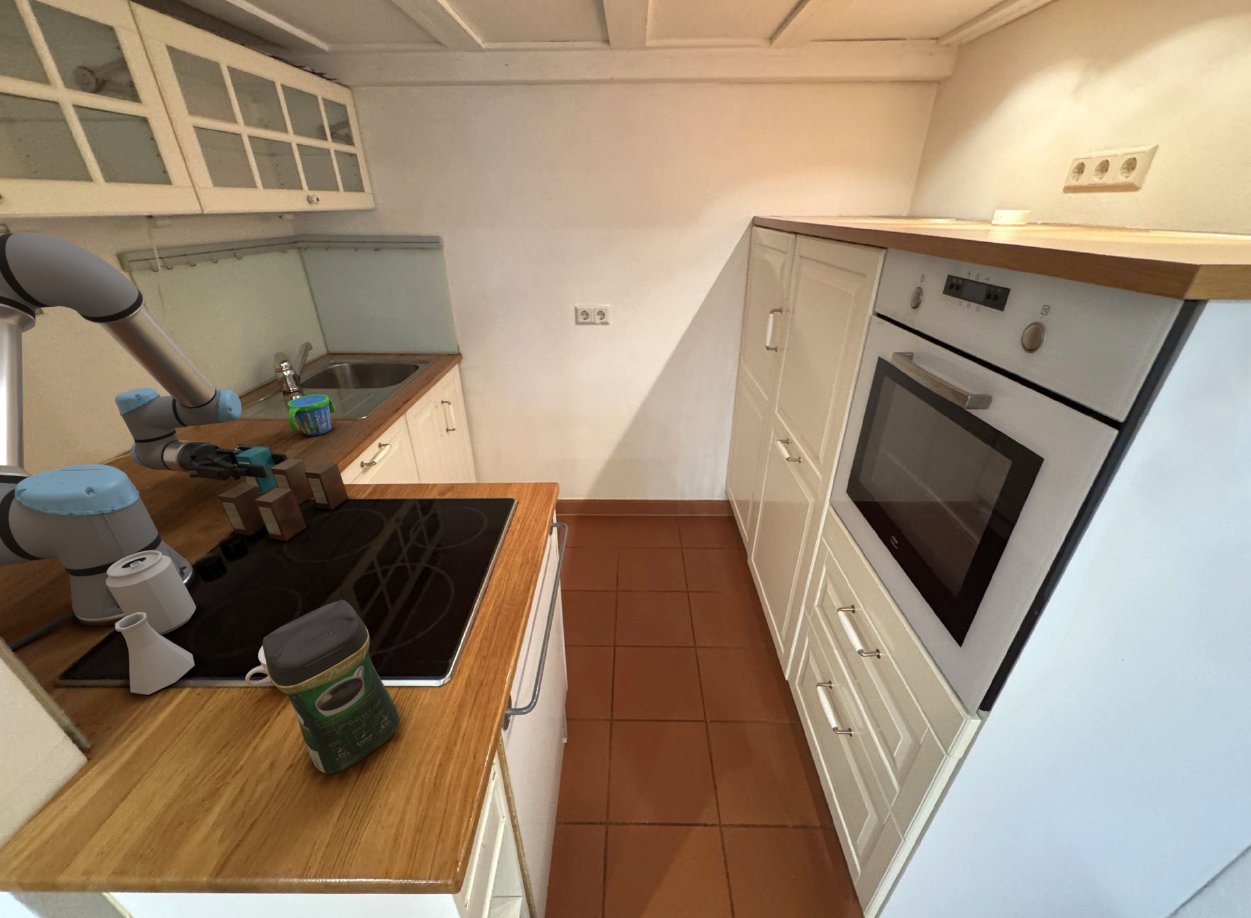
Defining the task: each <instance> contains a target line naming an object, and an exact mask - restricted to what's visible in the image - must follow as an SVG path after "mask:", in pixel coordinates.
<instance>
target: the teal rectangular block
mask: <svg viewBox="0 0 1251 918" xmlns="http://www.w3.org/2000/svg"><path fill="white" fill-rule="evenodd" d="M235 457H236V460H237V462H238V464H239V463H242V464H252V465H261V466H263V467H264V470H265V472H266V475H267V477H266V478H258V477H249V476H243V479H244V482H245V484H248V485H256V486H257V488H258V491H259V493H260V494H261V493H262V494H265V493H267V492H268V491H270V490H272V489H274V487H275V488H276V486H277V484H276V481H275V479H274V476H273V473H272V471H271V468H272V467H274V466H276V465H275V463H274V461H273V458H272V455H271V453H270V450H269V448H264V447H253V448H251V449H249V450H246V451H244V452H242V453H240V454H238V455H236V456H235Z"/></svg>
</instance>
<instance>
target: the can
mask: <svg viewBox="0 0 1251 918" xmlns="http://www.w3.org/2000/svg"><path fill="white" fill-rule="evenodd" d="M107 575H109V576H108V578H107V580H106V585H107V587H108V588H109V590H110V592H111V593H112V595H113V596H114V598H115V600H116V601H117V603H118V604H119V606H120V608H121V609H122V611H123V613H124V614H125V616H128V615H131V614H134V613H136V612H142V613H146V615H147V622H148V624H149V625H150V626H151V627H152V628H153V629H154V630H155V631H156V632H157V633H158V634H159V635H161V636H163V635H166V634H168V633H171V632H174V631H175V630H177V629H179V628H180V627H182V626H184V625H185V624H186V623H187V622H189V620H190V619H191V618H192V616H193V614H194V613H195V611H196V609H197V606H196V604H195V601H194V599H193V598H192V596H191V594H190V592H189V590H188V589H187V588H186V587H185V585H184V583H183V581H182V579H181V577H180V575H179V573H178V572H177V570H176V568H175V566H174V564H173V562H172V560H171V558H170V557H168V556H165V555H162V553H161V552H159V551H155V550H149V551H143V552H139V553H135V554H132V555H129V556H127V557H125V558H123V559H121V560H119V561H117V562H115V563H114V564H113V565H112V566H110V567H109V569H108V570H107Z"/></svg>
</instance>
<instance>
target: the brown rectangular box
mask: <svg viewBox="0 0 1251 918" xmlns="http://www.w3.org/2000/svg"><path fill="white" fill-rule="evenodd" d="M307 470H308V468H307V465H306V461H305V460H304V459H301V458H287V460H286V461H284V462H282V463H280V464H278V465H275V466H274V467H272V468H271V471H272V473H273V476H274V479H275V481H276V484H277V485H276V486H277V488H283V489H291V490H293V493H294V496H295V498H296V501H297V504H298V506H300V505H301V504H303V503H304V502H306V501H308V500H310V499H311V498H313V495H312V492H311V489H310V487H309V484H308V481H307V478H306V475H305V473H304V472H305V471H307Z"/></svg>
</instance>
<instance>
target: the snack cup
mask: <svg viewBox="0 0 1251 918" xmlns="http://www.w3.org/2000/svg"><path fill="white" fill-rule="evenodd" d="M287 408H288V409H289V410H288V417H287V418H288V426H289V428H290V430H292V431H294V432H298V431H300V430H301V431H302V433H303V434H304V435H306V436H307V437H311V436H320V435H325V434H327V433H328V432H330V431H331V430H332V428H333V427H332V419H331V418H332V417H331V414H335V412H336V407H335V404H334V403H333V401H332V399H331V398H330V396H328V395H326V394H309V395H303V396H299V397H296V398H294V399H292V400H289V401H288V402H287ZM295 420H296V421H295ZM296 422H297V423H296ZM297 424H298V425H297ZM299 427H300V428H299Z"/></svg>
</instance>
